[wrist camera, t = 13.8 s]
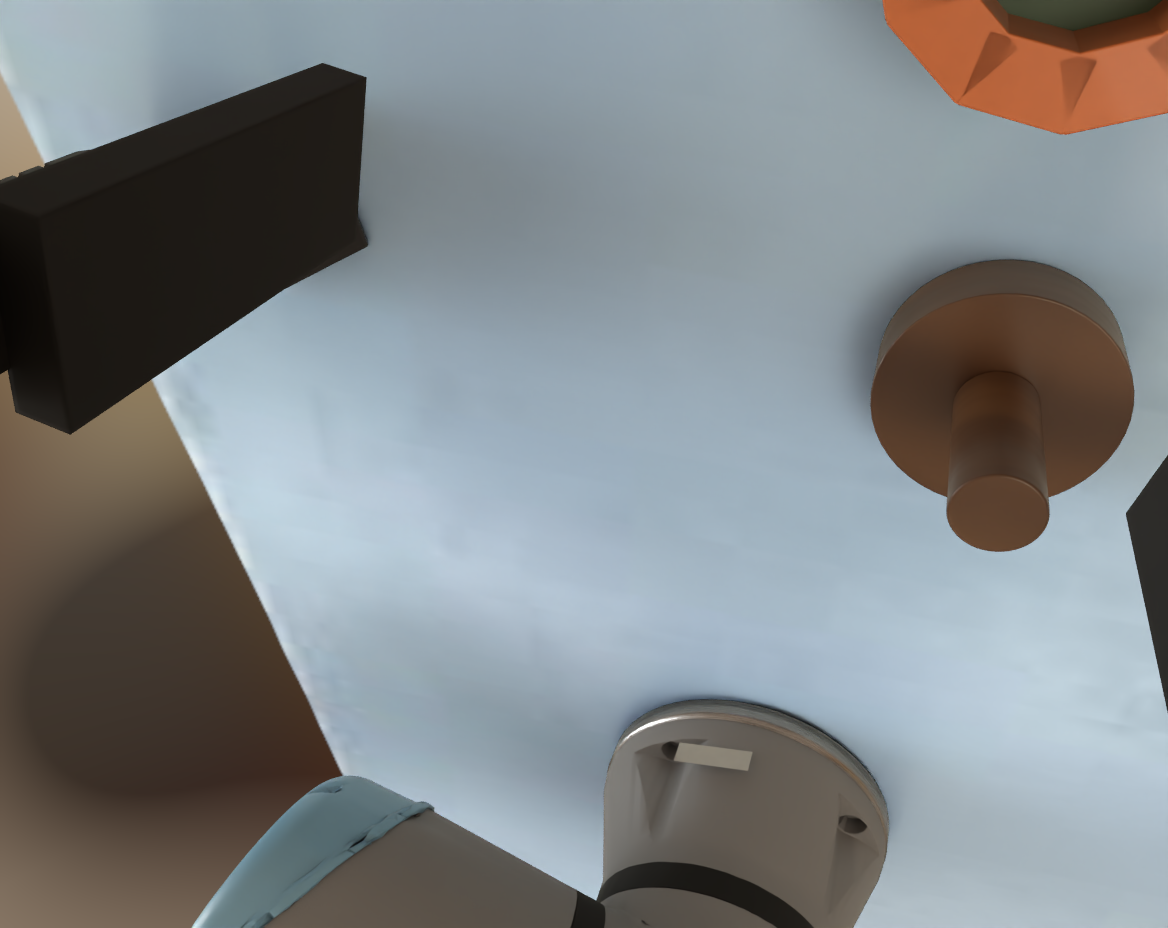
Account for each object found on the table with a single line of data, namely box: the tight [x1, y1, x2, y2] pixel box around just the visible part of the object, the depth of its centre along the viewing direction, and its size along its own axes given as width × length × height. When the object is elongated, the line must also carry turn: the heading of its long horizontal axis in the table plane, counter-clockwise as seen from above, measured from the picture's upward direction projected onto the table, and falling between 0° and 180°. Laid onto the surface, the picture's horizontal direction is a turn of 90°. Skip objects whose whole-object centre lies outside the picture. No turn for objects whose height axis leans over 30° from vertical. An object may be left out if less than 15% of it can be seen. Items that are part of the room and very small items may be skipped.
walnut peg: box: [870, 260, 1134, 552], centre depth 32 cm, size 8×8×10 cm
